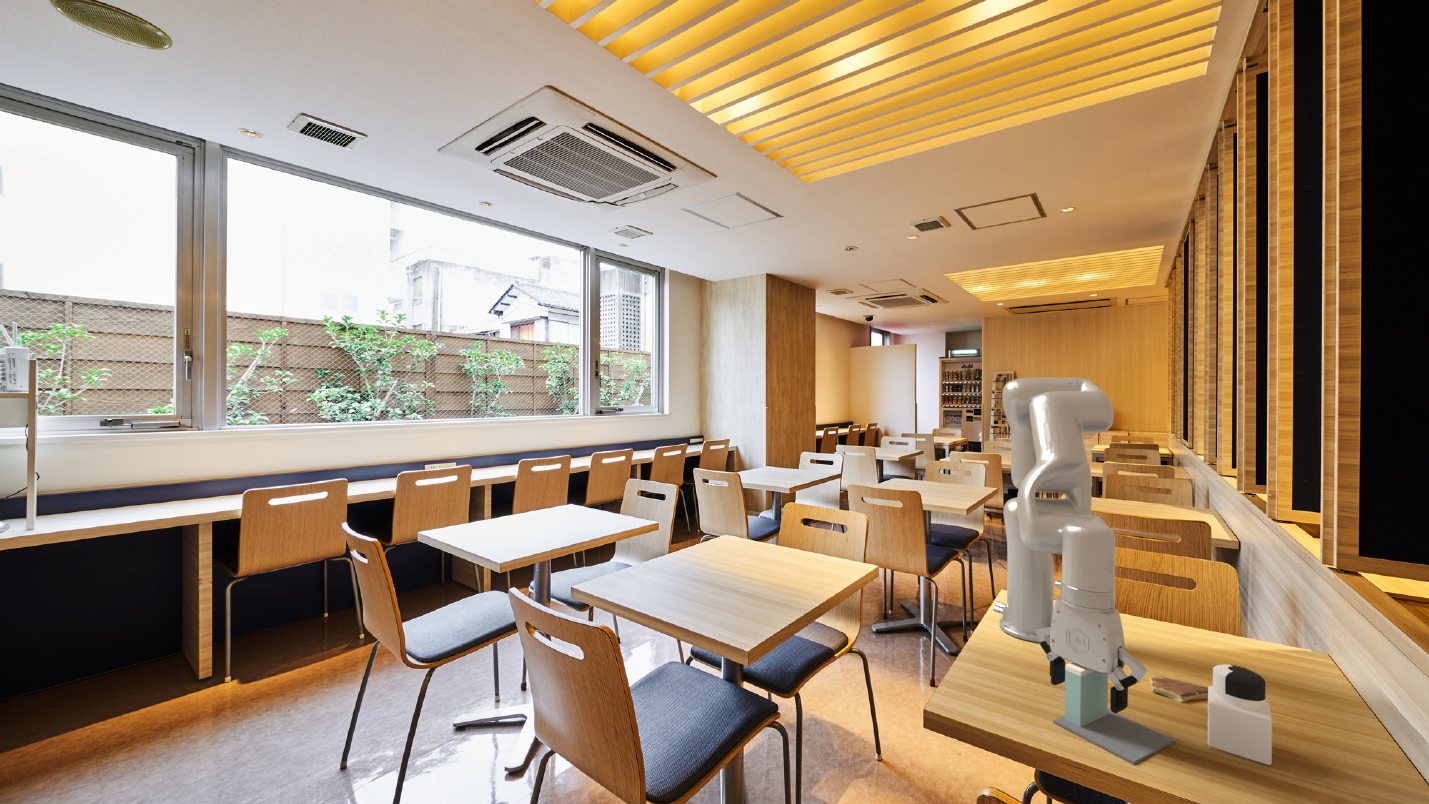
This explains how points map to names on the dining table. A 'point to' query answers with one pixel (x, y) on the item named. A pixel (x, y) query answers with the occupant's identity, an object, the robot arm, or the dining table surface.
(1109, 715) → the mat
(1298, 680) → the dining table surface
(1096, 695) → the slab
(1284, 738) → the dining table surface
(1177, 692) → the shard
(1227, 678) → the medicine bottle
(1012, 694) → the dining table surface
